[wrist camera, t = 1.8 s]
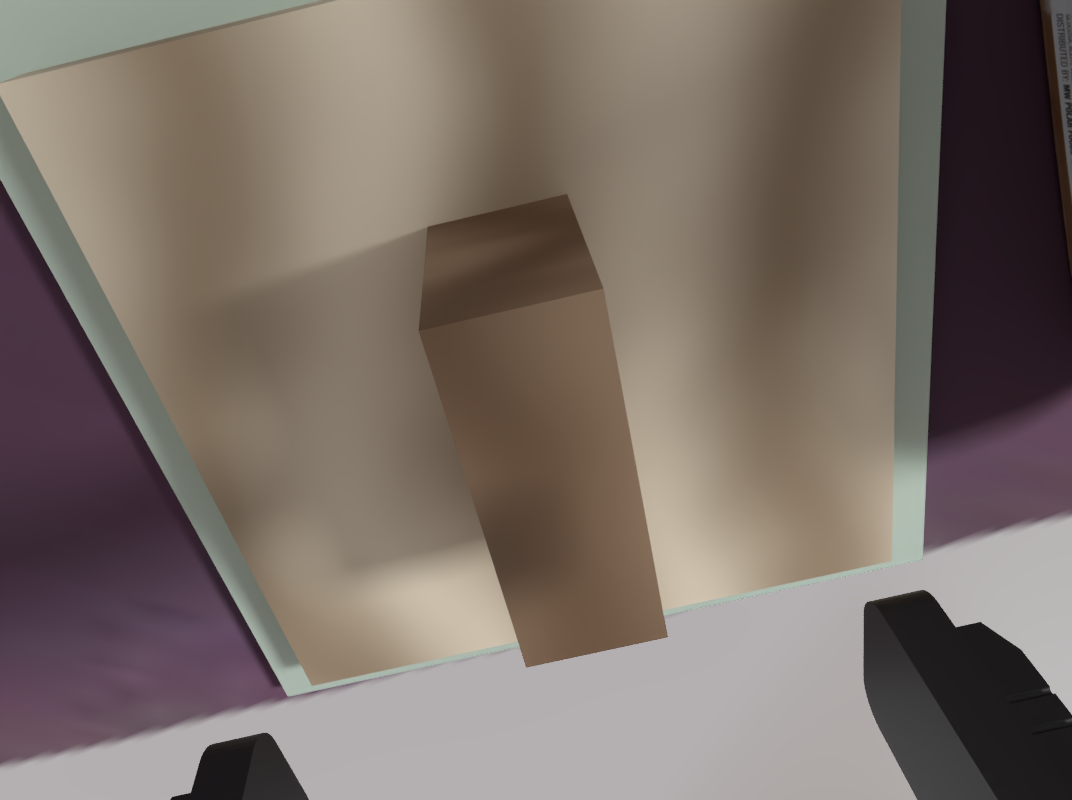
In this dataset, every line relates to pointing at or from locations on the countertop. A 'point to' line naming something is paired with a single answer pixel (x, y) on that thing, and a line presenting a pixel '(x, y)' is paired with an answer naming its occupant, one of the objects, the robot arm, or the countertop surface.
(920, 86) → the mat
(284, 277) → the cover board
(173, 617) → the countertop surface
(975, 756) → the robot arm
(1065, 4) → the tin
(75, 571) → the countertop surface
